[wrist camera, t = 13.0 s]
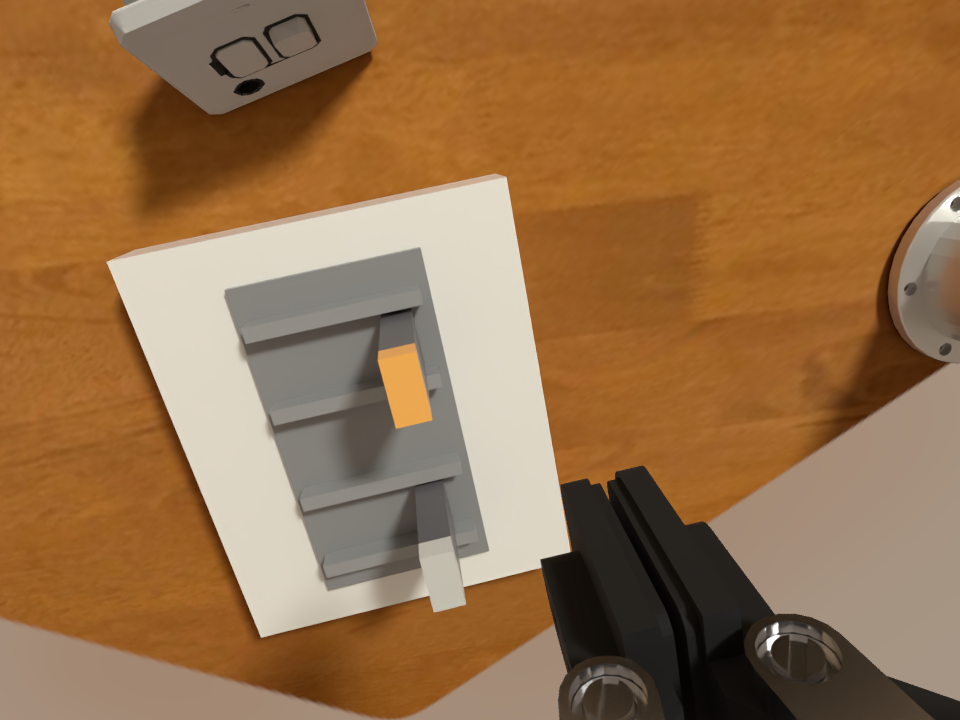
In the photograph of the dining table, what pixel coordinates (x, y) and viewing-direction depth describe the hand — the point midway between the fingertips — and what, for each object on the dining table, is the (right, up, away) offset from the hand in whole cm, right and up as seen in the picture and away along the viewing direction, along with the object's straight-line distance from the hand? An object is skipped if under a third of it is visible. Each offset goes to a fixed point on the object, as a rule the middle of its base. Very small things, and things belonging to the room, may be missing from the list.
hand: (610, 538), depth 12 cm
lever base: (-9, +1, +26) cm, 28 cm away
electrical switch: (-13, +20, +19) cm, 31 cm away
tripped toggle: (-7, +5, +21) cm, 22 cm away
